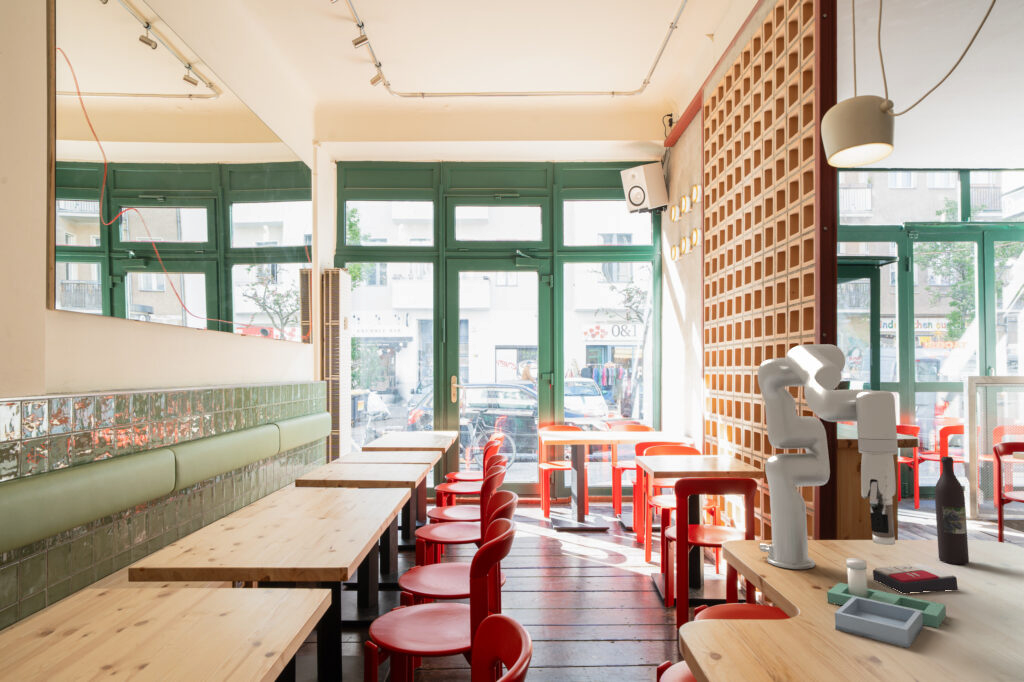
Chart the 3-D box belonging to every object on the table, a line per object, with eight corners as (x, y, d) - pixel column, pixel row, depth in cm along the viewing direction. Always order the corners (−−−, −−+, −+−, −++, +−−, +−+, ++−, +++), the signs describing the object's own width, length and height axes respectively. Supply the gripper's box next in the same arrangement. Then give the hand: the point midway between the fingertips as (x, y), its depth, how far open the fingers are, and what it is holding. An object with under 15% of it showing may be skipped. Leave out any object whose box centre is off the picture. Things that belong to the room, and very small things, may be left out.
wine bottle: (942, 563, 172) (935, 458, 174) (936, 557, 179) (929, 455, 180) (972, 566, 169) (965, 459, 171) (964, 559, 176) (957, 455, 178)
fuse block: (827, 602, 145) (827, 591, 145) (839, 592, 151) (839, 582, 151) (937, 627, 129) (937, 616, 129) (946, 615, 136) (945, 604, 136)
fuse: (846, 603, 144) (843, 560, 145) (851, 598, 147) (849, 556, 148) (865, 607, 141) (863, 564, 142) (871, 602, 144) (868, 560, 145)
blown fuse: (870, 542, 132) (867, 496, 133) (875, 538, 135) (872, 493, 136) (892, 546, 129) (889, 498, 130) (897, 542, 132) (894, 496, 133)
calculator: (871, 566, 160) (923, 561, 162) (873, 583, 160) (924, 577, 162) (901, 580, 150) (957, 574, 151) (903, 598, 149) (959, 591, 151)
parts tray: (835, 629, 130) (834, 612, 130) (854, 611, 139) (853, 596, 139) (908, 648, 120) (907, 630, 120) (923, 627, 130) (922, 610, 130)
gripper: (868, 442, 142) (873, 521, 141) (848, 448, 130) (853, 534, 129) (905, 444, 137) (911, 525, 136) (888, 451, 125) (893, 540, 124)
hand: (882, 529), depth 132 cm, fingers closed on blown fuse, 4 cm apart
